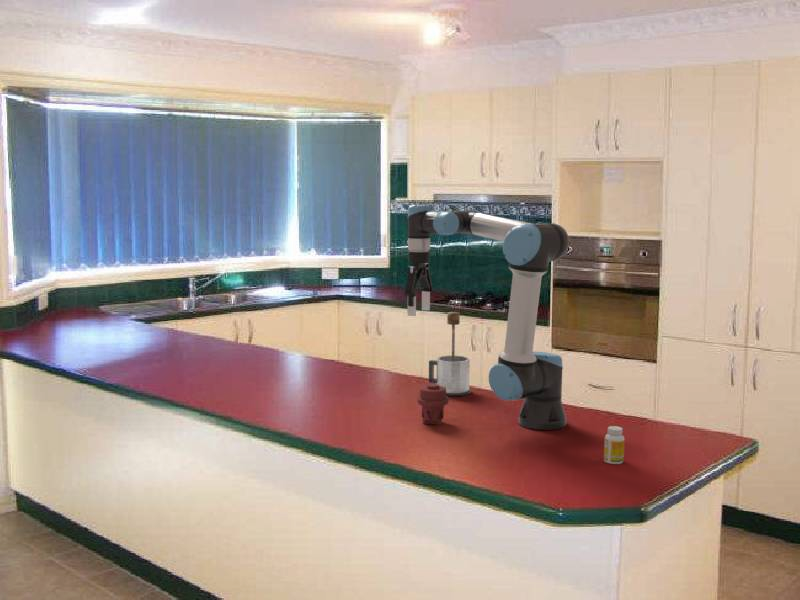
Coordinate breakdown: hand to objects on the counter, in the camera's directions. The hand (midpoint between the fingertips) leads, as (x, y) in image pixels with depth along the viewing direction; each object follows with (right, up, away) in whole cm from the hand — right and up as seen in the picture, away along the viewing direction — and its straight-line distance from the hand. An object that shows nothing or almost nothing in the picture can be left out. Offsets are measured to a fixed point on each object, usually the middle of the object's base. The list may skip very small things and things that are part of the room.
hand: (418, 313), depth 304 cm
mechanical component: (+4, -35, -17) cm, 39 cm away
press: (+12, -29, +23) cm, 39 cm away
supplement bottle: (+53, -41, -56) cm, 87 cm away
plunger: (+13, -21, +21) cm, 32 cm away
